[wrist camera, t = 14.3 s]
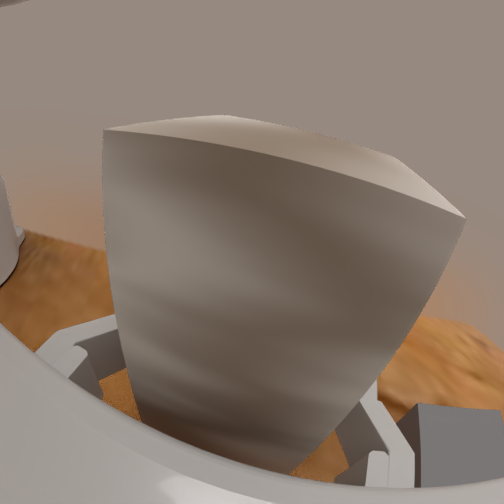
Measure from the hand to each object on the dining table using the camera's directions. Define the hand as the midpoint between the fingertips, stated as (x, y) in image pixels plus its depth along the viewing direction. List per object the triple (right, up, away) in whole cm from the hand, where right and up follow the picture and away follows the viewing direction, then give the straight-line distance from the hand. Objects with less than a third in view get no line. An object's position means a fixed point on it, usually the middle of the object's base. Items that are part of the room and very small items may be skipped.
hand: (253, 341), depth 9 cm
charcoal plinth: (+11, -13, +2) cm, 17 cm away
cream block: (-1, -7, +3) cm, 8 cm away
